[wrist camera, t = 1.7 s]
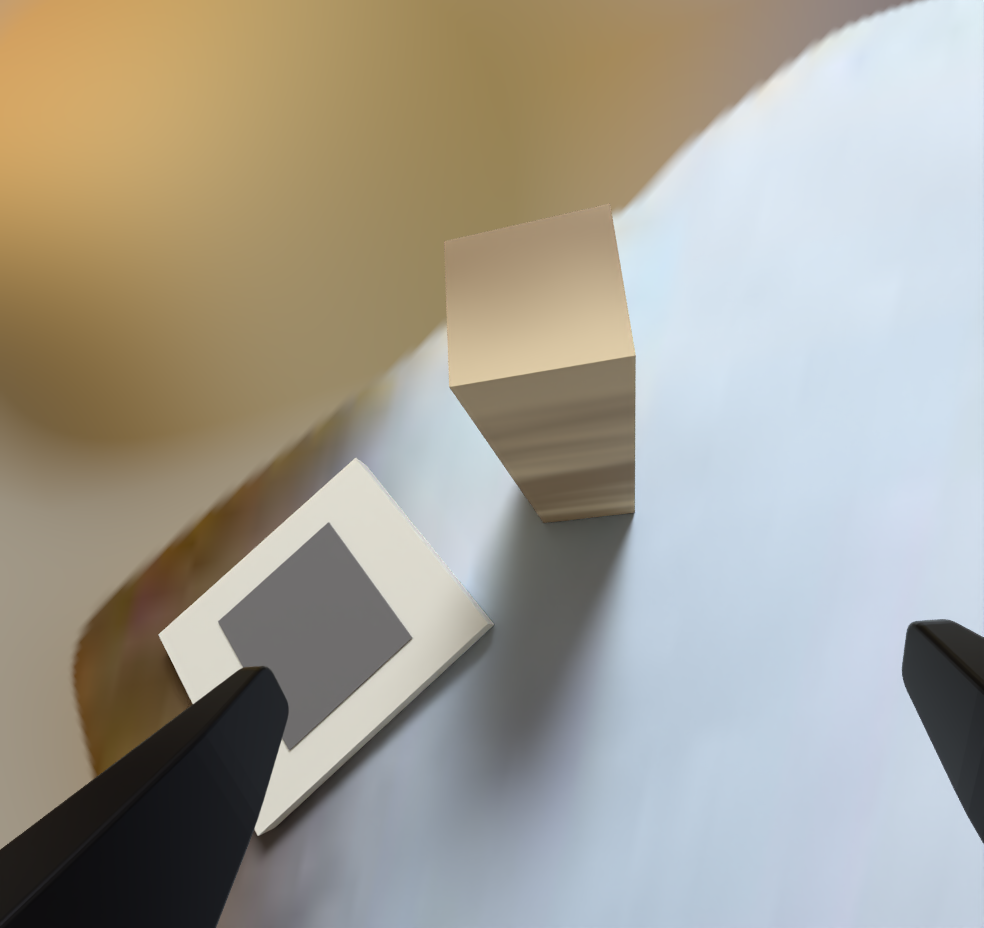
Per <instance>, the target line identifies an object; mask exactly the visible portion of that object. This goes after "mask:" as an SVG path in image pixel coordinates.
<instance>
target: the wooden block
mask: <svg viewBox="0 0 984 928" xmlns="http://www.w3.org/2000/svg"><path fill="white" fill-rule="evenodd" d="M444 250H445V278H446V307H447V335H448V363H449V387H450V389H451V390H452V392H453V393H454V394H455V396H456V397H457V399H458V400H459V402H460V403H461V405H462V406H463V407H464V409H465V410H466V412H467V413H468V415H469V416H470V418H471V419H472V420H473V422H474V423H475V425H476V426H477V428H478V429H479V431H480V432H481V433H482V435H483V436H484V438H485V439H486V441H487V442H488V444H489V445H490V446H491V448H492V449H493V451H494V452H495V454H496V455H497V457H498V458H499V459H500V461H501V462H502V464H503V465H504V467H505V468H506V470H507V471H508V472H509V474H510V475H511V477H512V478H513V480H514V481H515V483H516V484H517V485H518V487H519V488H520V490H521V491H522V493H523V494H524V495H525V497H526V498H527V500H528V501H529V503H530V504H531V506H532V507H533V508H534V510H535V511H536V513H537V514H538V516H539V517H540V519H541V520H542V521H543V523H549V522H558V521H567V520H575V519H584V518H593V517H602V516H611V515H620V514H628V513H635V358H636V355H635V349H634V343H633V337H632V331H631V326H630V320H629V314H628V308H627V302H626V296H625V290H624V284H623V278H622V272H621V266H620V260H619V254H618V248H617V242H616V236H615V230H614V225H613V219H612V213H611V207H610V204H606V205H601V206H597V207H593V208H588V209H584V210H579V211H575V212H570V213H566V214H562V215H558V216H553V217H549V218H544V219H540V220H535V221H531V222H527V223H523V224H518V225H513V226H509V227H505V228H500V229H496V230H491V231H487V232H483V233H479V234H474V235H470V236H465V237H461V238H456V239H452V240H448V241H444Z"/></svg>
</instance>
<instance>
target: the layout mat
mask: <svg viewBox="0 0 984 928" xmlns="http://www.w3.org/2000/svg"><path fill="white" fill-rule="evenodd" d="M493 626H494V623H493V622H492V621H491V620H490V619H489V617H488V616H487V615H486V614H485V612H484V611H483V610H482V609H481V607H480V606H479V605H478V604H477V602H476V601H475V600H474V599H473V597H472V596H471V595H470V594H469V592H468V591H467V590H466V589H465V587H464V586H463V585H462V584H461V582H460V581H459V580H458V579H457V578H456V576H455V575H454V574H453V573H452V571H451V570H450V569H449V568H448V566H447V565H446V564H445V563H444V561H443V560H442V559H441V558H440V556H439V555H438V554H437V553H436V551H435V550H434V549H433V548H432V546H431V545H430V544H429V543H428V541H427V540H426V539H425V538H424V537H423V535H422V534H421V533H420V532H419V530H418V529H417V528H416V527H415V525H414V524H413V523H412V522H411V520H410V519H409V518H408V517H407V515H406V514H405V513H404V512H403V510H402V509H401V508H400V507H399V505H398V504H397V503H396V502H395V500H394V499H393V498H392V497H391V496H390V494H389V493H388V492H387V491H386V489H385V488H384V487H383V486H382V484H381V483H380V482H379V481H378V479H377V478H376V477H375V476H374V474H373V473H372V472H371V471H370V469H369V468H368V467H367V466H366V465H365V464H364V463H362V462H361V461H359V460H358V459H356V458H355V459H354V460H353V461H352V462H350V463H349V464H348V465H347V466H346V467H345V468H344V469H343V470H342V471H340V472H339V473H338V474H337V475H336V476H335V477H334V478H333V479H332V480H330V481H329V482H328V483H327V484H326V485H325V486H324V487H323V488H321V489H320V490H319V491H318V492H317V493H316V494H315V495H314V496H313V497H311V498H310V499H309V500H308V501H307V502H306V503H305V504H304V505H303V506H301V507H300V508H299V509H298V510H297V511H296V512H295V513H294V514H292V515H291V516H290V517H289V518H288V519H287V520H286V521H285V522H284V523H282V524H281V525H280V526H279V527H278V528H277V529H276V530H275V531H274V532H272V533H271V534H270V535H269V536H268V537H267V538H266V539H265V540H263V541H262V542H261V543H260V544H259V545H258V546H257V547H256V548H255V549H253V550H252V551H251V552H250V553H249V554H248V555H247V556H246V557H245V558H243V559H242V560H241V561H240V562H239V563H238V564H237V565H236V566H234V567H233V568H232V569H231V570H230V571H229V572H228V573H227V574H226V575H224V576H223V577H222V578H221V579H220V580H219V581H218V582H217V583H216V584H214V585H213V586H212V587H211V588H210V589H209V590H208V591H207V592H205V593H204V594H203V595H202V596H201V597H200V598H199V599H198V600H197V601H195V602H194V603H193V604H192V605H191V606H190V607H189V608H188V609H187V610H185V611H184V612H183V613H182V614H181V615H180V616H179V617H178V618H176V619H175V620H174V621H173V622H172V623H171V624H170V625H169V626H168V627H166V628H165V629H164V630H163V631H162V632H161V633H160V634H159V637H160V639H161V641H162V643H163V645H164V647H165V649H166V651H167V653H168V655H169V657H170V659H171V661H172V663H173V665H174V667H175V669H176V671H177V673H178V675H179V677H180V679H181V681H182V683H183V685H184V687H185V689H186V691H187V693H188V695H189V697H190V699H191V701H192V704H194V703H195V702H197V701H198V700H199V699H201V698H202V697H203V696H205V695H206V694H207V693H209V692H210V691H211V690H213V689H214V688H215V687H216V686H218V685H219V684H220V683H222V682H223V681H224V680H226V679H227V678H228V677H230V676H231V675H232V674H234V673H235V672H236V671H238V670H239V669H241V668H244V667H252V666H267V667H268V668H270V669H271V670H272V672H273V673H274V675H275V677H276V679H277V681H278V683H279V685H280V687H281V689H282V691H283V693H284V695H285V697H286V699H287V701H288V705H289V714H288V720H287V723H286V727H285V730H284V733H283V737H282V740H281V744H280V747H279V751H278V754H277V757H276V761H275V764H274V768H273V771H272V774H271V778H270V781H269V785H268V788H267V791H266V795H265V798H264V802H263V805H262V808H261V811H260V814H259V817H258V820H257V823H256V826H255V828H254V829H255V831H256V833H257V835H258V836H259V835H261V834H263V833H265V832H267V831H270V830H272V829H274V828H275V827H276V826H277V825H279V824H280V823H281V822H282V821H283V820H284V819H285V818H286V817H287V816H288V815H289V814H290V813H292V812H293V811H294V810H295V809H296V808H297V807H298V806H299V805H300V804H301V803H302V802H303V801H305V800H306V799H307V798H308V797H309V796H310V795H311V794H312V793H313V792H314V791H315V790H316V789H317V788H319V787H320V786H321V785H322V784H323V783H324V782H325V781H326V780H327V779H328V778H329V777H330V776H332V775H333V774H334V773H335V772H336V771H337V770H338V769H339V768H340V767H341V766H342V765H343V764H344V763H346V762H347V761H348V760H349V759H350V758H351V757H352V756H353V755H354V754H355V753H356V752H357V751H359V750H360V749H361V748H362V747H363V746H364V745H365V744H366V743H367V742H368V741H369V740H370V739H372V738H373V737H374V736H375V735H376V734H377V733H378V732H379V731H380V730H381V729H382V728H383V727H384V726H386V725H387V724H388V723H389V722H390V721H391V720H392V719H393V718H394V717H395V716H396V715H397V714H399V713H400V712H401V711H402V710H403V709H404V708H405V707H406V706H407V705H408V704H409V703H410V702H411V701H413V700H414V699H415V698H416V697H417V696H418V695H419V694H420V693H421V692H422V691H423V690H424V689H426V688H427V687H428V686H429V685H430V684H431V683H432V682H433V681H434V680H435V679H436V678H437V677H439V676H440V675H441V674H442V673H443V672H444V671H445V670H446V669H447V668H448V667H449V666H450V665H451V664H453V663H454V662H455V661H456V660H457V659H458V658H459V657H460V656H461V655H462V654H463V653H464V652H466V651H467V650H468V649H469V648H470V647H471V646H472V645H473V644H474V643H475V642H476V641H477V640H478V639H480V638H481V637H482V636H483V635H484V634H485V633H486V632H487V631H488V630H489V629H490V628H491V627H493Z"/></svg>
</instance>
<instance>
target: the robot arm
mask: <svg viewBox="0 0 984 928" xmlns="http://www.w3.org/2000/svg"><path fill="white" fill-rule="evenodd" d="M902 677H903V681H904V684H905V687H906V689H907V692H908V694H909V696H910V698H911V700H912V702H913V704H914V706H915V708H916V711H917V713H918V715H919V717H920V719H921V721H922V723H923V725H924V727H925V729H926V731H927V734H928V736H929V738H930V740H931V742H932V744H933V746H934V748H935V750H936V752H937V755H938V757H939V759H940V761H941V763H942V765H943V767H944V769H945V771H946V773H947V775H948V778H949V780H950V782H951V784H952V786H953V788H954V790H955V792H956V794H957V796H958V798H959V800H960V802H961V804H962V806H963V808H964V810H965V812H966V814H967V816H968V818H969V819H970V821H971V823H972V825H973V826H974V828H975V830H976V831H977V833H978V835H979V837H980V838H981V840H982V842H983V843H984V637H982V636H980V635H978V634H976V633H975V632H973V631H971V630H969V629H967V628H965V627H963V626H962V625H960V624H958V623H956V622H953V621H951V620H946V619H939V620H924V621H915V622H912V623H911V624H910V625H909V626H908V629H907V632H906V640H905V648H904V655H903V663H902ZM288 714H289V705H288V701H287V699H286V697H285V695H284V693H283V691H282V689H281V687H280V685H279V683H278V681H277V679H276V677H275V675H274V673H273V672H272V670H271V669H270V668H268V667H267V666H252V667H244V668H241V669H239V670H238V671H236V672H235V673H234V674H232V675H231V676H230V677H228V678H227V679H226V680H224V681H223V682H222V683H220V684H219V685H218V686H216V687H215V688H214V689H213V690H211V691H210V692H209V693H207V694H206V695H205V696H203V697H202V698H201V699H199V700H198V701H197V702H195V703H194V704H193V705H191V706H190V707H189V708H187V709H186V710H185V711H183V712H182V713H181V714H179V715H178V716H177V717H175V718H174V719H173V720H171V721H170V722H169V723H167V724H166V725H165V726H163V727H162V728H161V729H160V730H158V731H157V732H156V733H154V734H153V735H152V736H150V737H149V738H148V739H146V740H145V741H144V742H142V743H141V744H140V745H138V746H137V747H136V748H134V749H133V750H132V751H130V752H129V753H128V754H126V755H125V756H124V757H122V758H121V759H120V760H118V761H117V762H116V763H114V764H113V765H112V766H110V767H109V768H108V769H107V770H105V771H104V772H103V773H101V774H100V775H99V776H97V777H96V778H95V779H93V780H92V781H91V782H89V783H88V784H87V785H85V786H84V787H83V788H81V789H80V790H79V791H77V792H76V793H75V794H73V795H72V796H71V797H69V798H68V799H67V800H65V801H64V802H63V803H61V804H60V805H59V806H58V807H56V808H55V809H54V810H52V811H51V812H50V813H48V814H47V815H46V816H44V817H43V818H42V819H40V820H39V821H38V822H36V823H35V824H34V825H32V826H31V827H30V828H28V829H27V830H26V831H24V832H23V833H22V834H21V835H19V836H18V837H16V838H15V839H14V840H13V841H11V842H10V843H9V844H7V845H6V846H4V847H3V848H2V849H1V850H0V928H216V926H217V924H218V921H219V919H220V916H221V913H222V911H223V908H224V906H225V903H226V901H227V898H228V895H229V893H230V890H231V888H232V885H233V883H234V880H235V878H236V875H237V872H238V870H239V867H240V865H241V862H242V860H243V857H244V854H245V852H246V849H247V847H248V844H249V842H250V839H251V837H252V834H253V831H254V828H255V826H256V823H257V820H258V817H259V814H260V811H261V808H262V805H263V802H264V798H265V795H266V791H267V788H268V785H269V781H270V778H271V774H272V771H273V768H274V764H275V761H276V757H277V754H278V751H279V747H280V744H281V740H282V737H283V733H284V730H285V727H286V723H287V720H288Z"/></svg>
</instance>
